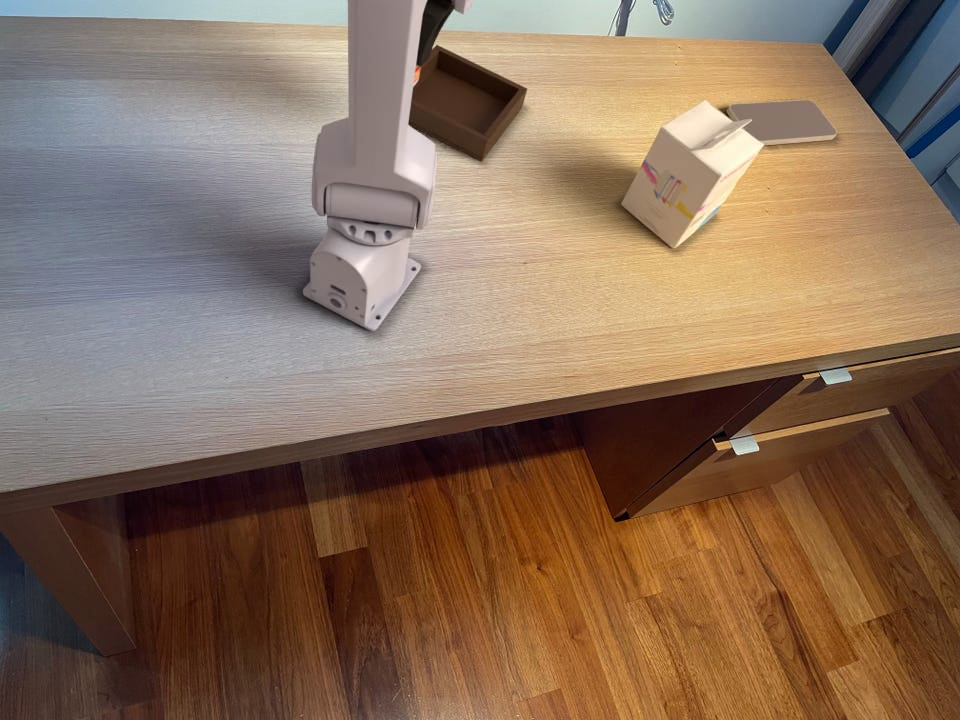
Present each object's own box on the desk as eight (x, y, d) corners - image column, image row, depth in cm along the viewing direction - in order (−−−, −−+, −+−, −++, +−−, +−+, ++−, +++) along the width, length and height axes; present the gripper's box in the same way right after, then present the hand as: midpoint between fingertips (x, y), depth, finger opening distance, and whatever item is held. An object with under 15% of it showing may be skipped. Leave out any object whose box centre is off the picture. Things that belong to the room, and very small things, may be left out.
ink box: (660, 175, 84) (712, 82, 72) (713, 218, 81) (775, 129, 70) (618, 205, 80) (666, 111, 68) (673, 251, 77) (732, 162, 66)
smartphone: (840, 135, 94) (753, 142, 89) (836, 140, 94) (749, 147, 90) (812, 98, 97) (726, 103, 92) (808, 104, 98) (723, 109, 93)
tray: (481, 161, 79) (487, 141, 76) (387, 114, 80) (389, 93, 77) (521, 108, 85) (527, 88, 83) (433, 65, 86) (436, 44, 84)
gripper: (500, -78, 60) (472, 57, 72) (357, -144, 61) (352, -1, 73) (465, -45, 56) (442, 92, 68) (313, -116, 57) (315, 31, 69)
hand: (393, 47), depth 70 cm, fingers closed on pill bottle, 6 cm apart
